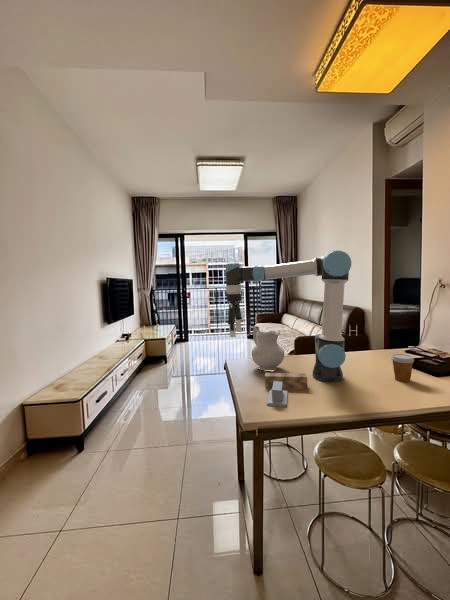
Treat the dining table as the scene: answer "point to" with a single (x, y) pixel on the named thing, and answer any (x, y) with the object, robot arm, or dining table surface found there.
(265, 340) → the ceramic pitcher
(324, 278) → the robot arm
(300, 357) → the dining table surface
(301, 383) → the walnut bar
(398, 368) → the disposable coffee cup
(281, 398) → the fulcrum
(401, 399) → the dining table surface
